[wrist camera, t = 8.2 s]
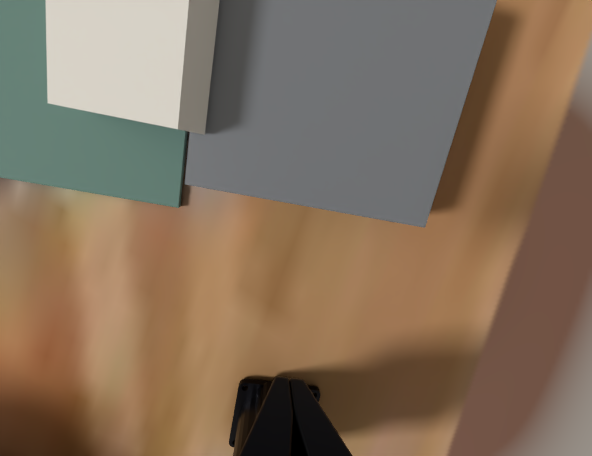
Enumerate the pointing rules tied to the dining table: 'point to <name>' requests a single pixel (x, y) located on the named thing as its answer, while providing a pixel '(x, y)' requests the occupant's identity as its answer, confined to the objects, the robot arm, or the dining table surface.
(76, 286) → the dining table surface
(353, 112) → the plate
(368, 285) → the dining table surface
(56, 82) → the tile
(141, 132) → the mat
